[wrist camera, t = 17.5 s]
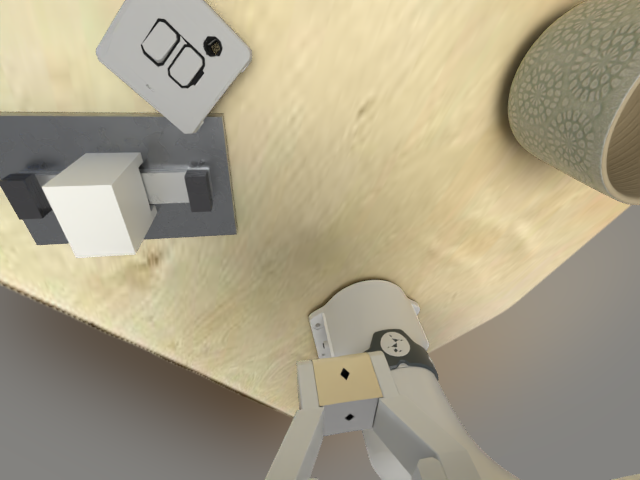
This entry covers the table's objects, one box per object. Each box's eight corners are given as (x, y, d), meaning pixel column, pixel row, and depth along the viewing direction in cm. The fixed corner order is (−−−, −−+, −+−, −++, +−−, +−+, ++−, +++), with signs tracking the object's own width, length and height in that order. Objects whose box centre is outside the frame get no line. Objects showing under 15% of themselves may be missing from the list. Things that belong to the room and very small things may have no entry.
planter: (485, 169, 42) (583, 230, 29) (488, 21, 32) (636, 18, 20) (608, 125, 41) (761, 169, 29) (650, -39, 32) (909, -81, 19)
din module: (158, 218, 36) (137, 261, 30) (111, 220, 36) (79, 264, 29) (140, 152, 32) (111, 185, 26) (86, 152, 31) (41, 186, 25)
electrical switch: (257, 51, 26) (185, 138, 27) (258, 65, 31) (197, 138, 32) (156, -55, 23) (79, 47, 24) (175, -21, 28) (111, 63, 29)
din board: (237, 228, 40) (235, 248, 37) (44, 237, 37) (21, 261, 33) (223, 113, 33) (219, 124, 29) (-24, 111, 29) (-64, 124, 25)
